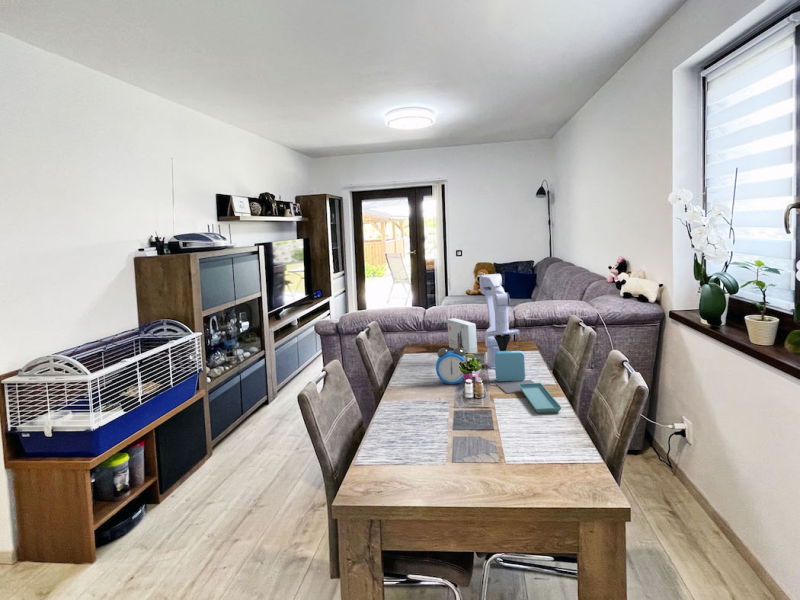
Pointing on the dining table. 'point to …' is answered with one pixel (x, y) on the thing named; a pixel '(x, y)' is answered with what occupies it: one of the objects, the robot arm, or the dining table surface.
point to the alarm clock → (450, 365)
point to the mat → (512, 386)
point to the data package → (509, 366)
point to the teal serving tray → (540, 398)
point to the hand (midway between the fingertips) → (502, 351)
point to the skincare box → (462, 335)
